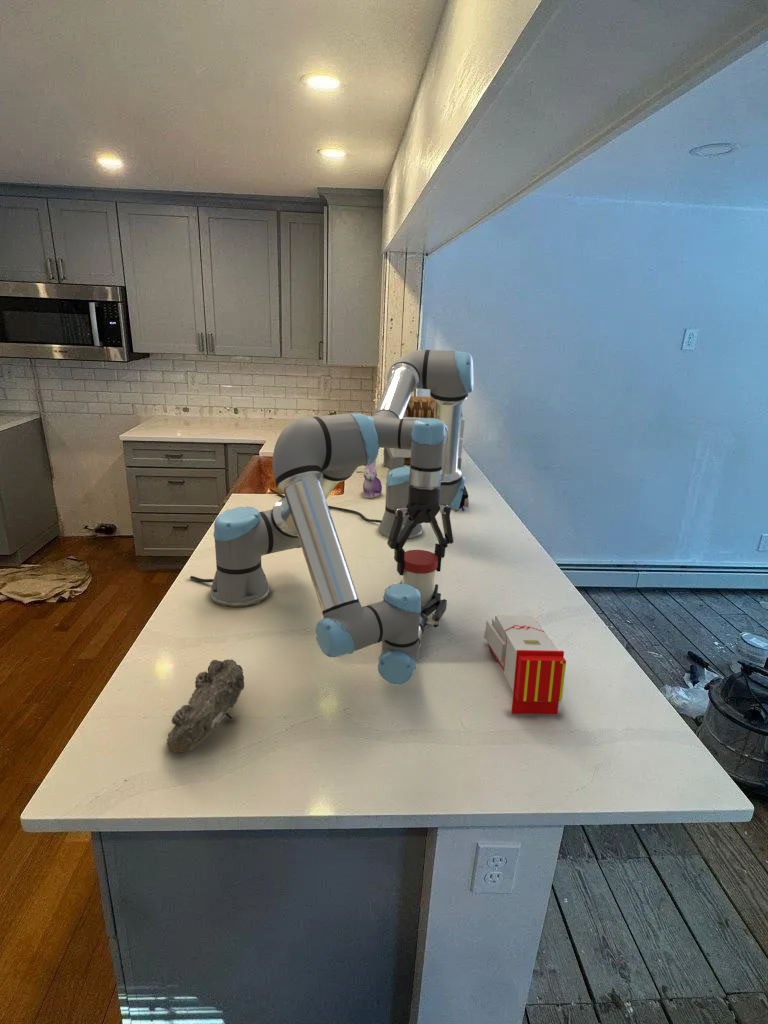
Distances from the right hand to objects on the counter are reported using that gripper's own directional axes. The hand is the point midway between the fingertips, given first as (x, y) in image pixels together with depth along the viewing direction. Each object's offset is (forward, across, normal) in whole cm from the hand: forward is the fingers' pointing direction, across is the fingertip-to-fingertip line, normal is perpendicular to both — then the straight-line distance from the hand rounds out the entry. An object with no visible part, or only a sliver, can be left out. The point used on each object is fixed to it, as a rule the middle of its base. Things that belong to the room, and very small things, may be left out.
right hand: (418, 571), depth 142 cm
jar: (+13, 0, 0) cm, 13 cm away
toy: (+13, -14, +28) cm, 34 cm away
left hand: (+7, -2, -4) cm, 8 cm away
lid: (-3, 0, 0) cm, 3 cm away
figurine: (+13, -17, -98) cm, 101 cm away
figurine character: (+13, -48, -78) cm, 92 cm away
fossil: (+13, +51, +26) cm, 59 cm away
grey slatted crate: (+13, -50, -128) cm, 138 cm away
